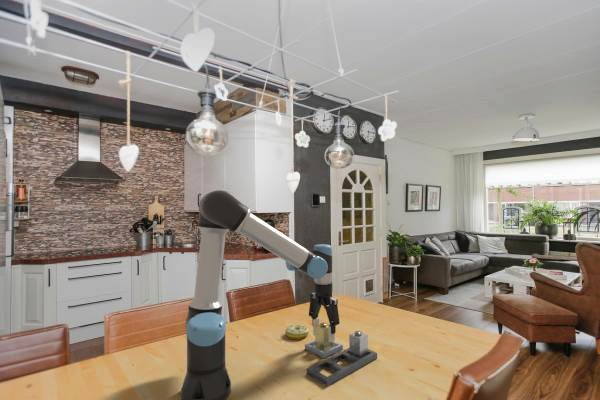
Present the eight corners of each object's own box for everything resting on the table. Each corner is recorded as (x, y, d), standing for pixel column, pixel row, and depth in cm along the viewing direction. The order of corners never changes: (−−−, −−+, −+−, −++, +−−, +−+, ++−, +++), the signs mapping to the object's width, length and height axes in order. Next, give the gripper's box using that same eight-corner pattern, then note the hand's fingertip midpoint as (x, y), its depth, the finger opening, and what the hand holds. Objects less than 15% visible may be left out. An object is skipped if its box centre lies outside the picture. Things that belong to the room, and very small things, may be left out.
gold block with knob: (324, 351, 123) (323, 327, 124) (315, 347, 127) (315, 323, 127) (332, 348, 127) (332, 324, 127) (323, 344, 130) (323, 320, 131)
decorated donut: (312, 333, 143) (312, 325, 143) (301, 342, 134) (301, 333, 134) (293, 329, 148) (293, 321, 148) (281, 337, 139) (281, 329, 139)
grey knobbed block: (360, 362, 116) (359, 336, 116) (349, 357, 120) (349, 332, 120) (367, 358, 120) (367, 332, 120) (357, 353, 123) (357, 328, 124)
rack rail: (327, 386, 101) (327, 380, 101) (306, 374, 108) (306, 368, 108) (377, 358, 119) (377, 352, 119) (356, 349, 127) (356, 344, 127)
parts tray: (324, 358, 119) (324, 353, 119) (304, 348, 127) (304, 344, 127) (342, 349, 126) (342, 344, 127) (323, 341, 135) (323, 336, 135)
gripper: (348, 285, 122) (349, 343, 122) (312, 276, 138) (312, 327, 137) (336, 288, 117) (336, 349, 117) (299, 279, 133) (300, 332, 132)
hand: (323, 337), depth 127 cm, fingers open, 8 cm apart
